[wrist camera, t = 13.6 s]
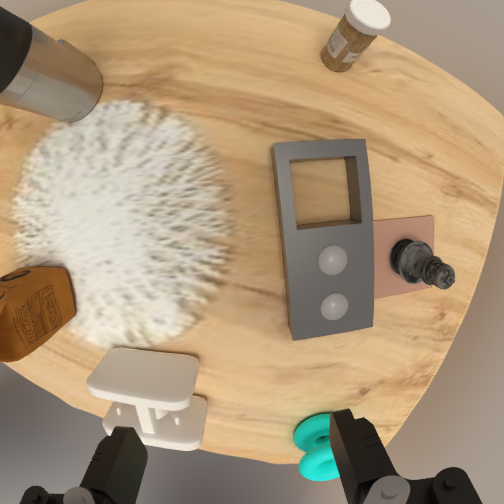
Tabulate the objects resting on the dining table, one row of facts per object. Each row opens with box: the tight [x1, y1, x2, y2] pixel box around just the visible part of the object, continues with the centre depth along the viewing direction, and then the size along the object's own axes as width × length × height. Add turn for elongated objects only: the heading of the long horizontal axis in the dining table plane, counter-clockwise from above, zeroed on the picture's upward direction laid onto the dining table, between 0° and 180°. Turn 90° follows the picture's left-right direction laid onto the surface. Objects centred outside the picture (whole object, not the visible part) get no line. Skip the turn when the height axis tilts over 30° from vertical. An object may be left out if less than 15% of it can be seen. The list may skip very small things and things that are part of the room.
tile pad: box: [373, 216, 434, 299], centre depth 38 cm, size 11×11×1 cm
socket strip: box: [271, 139, 374, 341], centre depth 35 cm, size 24×11×4 cm, turn 7°
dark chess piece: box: [389, 238, 455, 289], centre depth 31 cm, size 6×6×12 cm
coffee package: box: [0, 267, 76, 362], centre depth 28 cm, size 10×12×22 cm
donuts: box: [294, 414, 340, 481], centre depth 40 cm, size 10×10×10 cm
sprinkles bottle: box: [321, 0, 391, 72], centre depth 25 cm, size 5×4×14 cm
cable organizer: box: [87, 348, 207, 451], centre depth 36 cm, size 15×11×12 cm
